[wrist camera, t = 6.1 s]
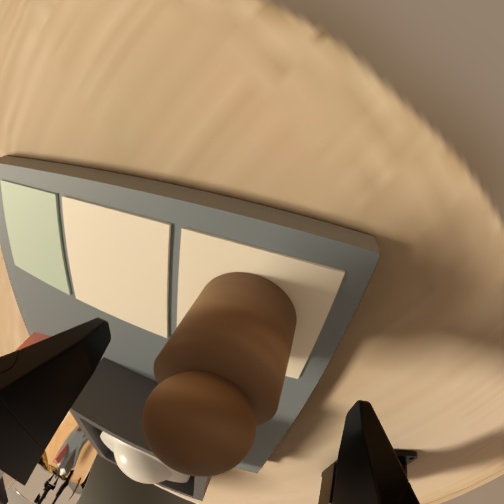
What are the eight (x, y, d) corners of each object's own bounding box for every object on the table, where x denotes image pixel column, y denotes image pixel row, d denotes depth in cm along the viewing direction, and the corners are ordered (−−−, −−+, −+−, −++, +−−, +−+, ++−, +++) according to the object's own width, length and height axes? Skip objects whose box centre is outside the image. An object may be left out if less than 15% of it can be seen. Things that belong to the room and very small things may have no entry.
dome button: (204, 428, 15) (178, 489, 11) (200, 460, 18) (181, 506, 14) (111, 389, 16) (77, 438, 12) (126, 429, 19) (102, 469, 15)
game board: (374, 236, 11) (407, 347, 5) (261, 459, 21) (244, 515, 16) (5, 155, 13) (-65, 184, 8) (58, 371, 24) (27, 409, 19)
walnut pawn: (310, 291, 10) (274, 475, 4) (281, 361, 12) (240, 505, 6) (205, 258, 11) (93, 402, 5) (196, 333, 13) (122, 459, 7)
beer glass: (64, 397, 27) (5, 478, 14) (83, 395, 24) (15, 493, 11) (103, 432, 29) (53, 512, 16) (128, 434, 26) (73, 531, 13)
